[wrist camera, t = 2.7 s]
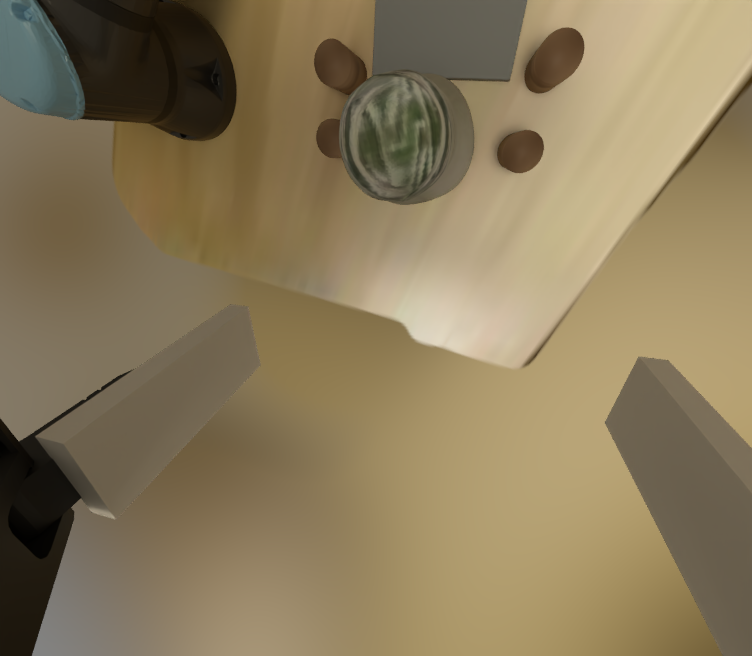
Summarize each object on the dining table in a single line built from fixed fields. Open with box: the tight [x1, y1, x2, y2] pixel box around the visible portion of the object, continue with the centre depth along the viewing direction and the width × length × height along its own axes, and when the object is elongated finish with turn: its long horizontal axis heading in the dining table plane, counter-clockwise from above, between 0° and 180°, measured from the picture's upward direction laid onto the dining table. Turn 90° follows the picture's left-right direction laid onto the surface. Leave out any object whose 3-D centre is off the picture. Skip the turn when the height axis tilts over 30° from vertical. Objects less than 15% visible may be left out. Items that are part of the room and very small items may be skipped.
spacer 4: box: [525, 28, 584, 93], centre depth 33 cm, size 4×4×7 cm
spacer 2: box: [316, 119, 342, 158], centre depth 41 cm, size 4×4×7 cm
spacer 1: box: [314, 39, 367, 95], centre depth 37 cm, size 4×4×7 cm
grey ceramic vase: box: [339, 69, 474, 205], centre depth 30 cm, size 10×10×28 cm
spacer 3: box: [497, 130, 544, 173], centre depth 37 cm, size 4×4×7 cm
